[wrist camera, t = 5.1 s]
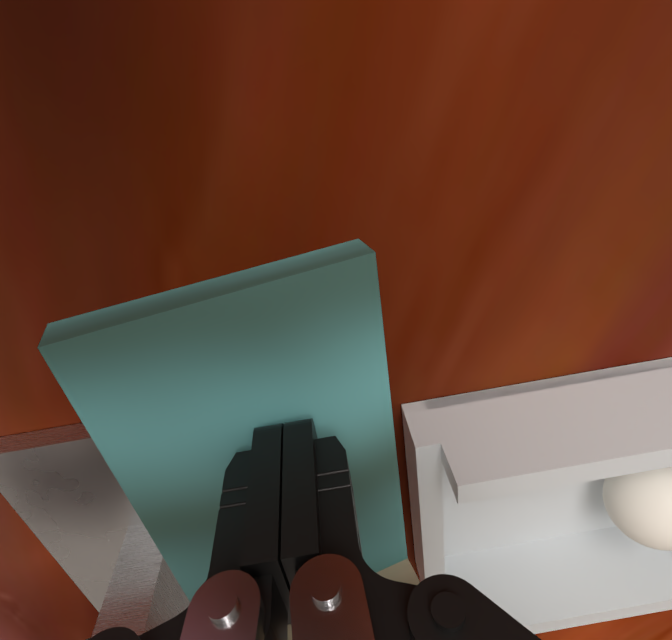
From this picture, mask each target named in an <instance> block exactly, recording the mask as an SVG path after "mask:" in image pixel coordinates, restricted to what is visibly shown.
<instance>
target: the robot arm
mask: <svg viewBox="0 0 672 640" xmlns="http://www.w3.org/2000/svg"><path fill="white" fill-rule="evenodd" d="M219 506H220V510H219V511H218V518H217V524H216V530H215V536H214V542H213V549H212V555H211V561H210V567H209V572H208V577H207V579H206V582H204V583H203V584H202V585H201V586H200V588H199V589H198V590H197V591H196V593H195V594H194V596H193V598H192V600H191V602H190V604H189V606H188V607H187V608H186V609H185V610H184V611H182V612H181V613H180V614H179V615H177V616H175V617H174V618H172V619H170V620H168V621H166V622H164V623H162V624H160V625H158V626H157V627H155V628H153V629H151V630H149V631H147V632H145V633H143V634H141V635H139V636H138V635H137V634H136V633H135V632H134V631H133V630H131V629H129V628H126V627H112V628H109V629H106V630H104V631H101V632H99V633H98V634H96V635H95V636H93V637H92V638H90V639H89V640H288V625H290V624H291V628H292V640H541V639H540V638H538V637H537V636H536V635H535V634H533V633H532V632H531V631H529V630H528V629H527V628H526V627H524V626H523V625H522V624H521V623H519V622H518V621H517V620H516V619H514V618H513V617H512V616H511V615H509V614H508V613H507V612H505V611H504V610H503V609H502V608H500V607H499V606H498V605H497V604H495V603H494V602H493V601H492V600H490V599H489V598H488V597H486V596H485V595H484V594H483V593H481V592H480V591H479V590H478V589H476V588H475V587H474V586H473V585H471V584H470V583H468V582H467V581H466V580H464V579H462V578H460V577H457V576H454V575H449V574H437V575H433V576H430V577H428V578H425V579H424V580H423V581H421V582H420V583H419V584H418V585H414V584H409V583H404V582H398V581H394V580H390V579H387V578H385V577H382V576H380V575H379V574H377V573H376V572H374V571H373V570H372V569H371V568H370V567H369V566H368V564H367V563H366V562H365V560H364V559H363V555H362V548H361V541H360V534H359V527H358V520H357V513H356V506H355V498H354V491H353V486H352V480H351V475H350V470H349V465H348V459H347V454H346V450H345V448H344V447H343V446H342V444H341V443H340V441H339V440H338V439H337V437H336V436H330V437H324V438H317V434H316V429H315V425H314V421H313V419H312V418H310V419H304V420H298V421H293V422H287V423H284V424H283V423H282V424H276V425H270V426H264V427H258V428H254V431H253V438H252V448H251V450H248V451H242V452H236V453H235V455H234V457H233V458H232V460H231V462H230V463H229V465H228V467H227V468H226V470H225V474H224V480H223V487H222V494H221V499H220V505H219Z"/></svg>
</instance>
